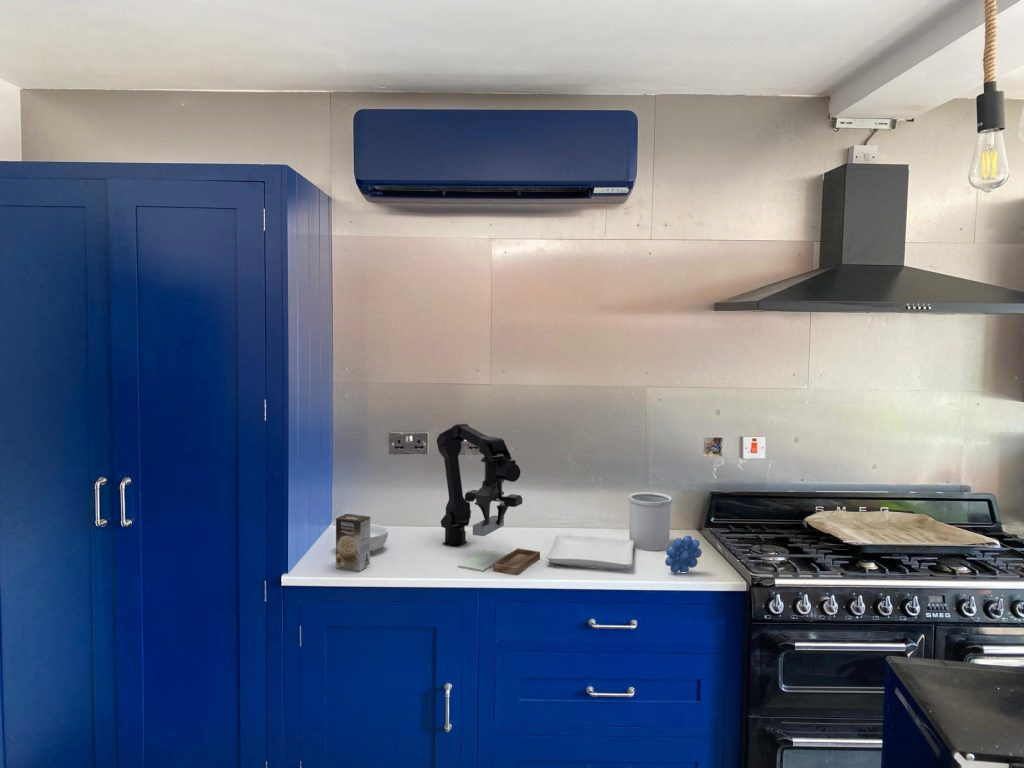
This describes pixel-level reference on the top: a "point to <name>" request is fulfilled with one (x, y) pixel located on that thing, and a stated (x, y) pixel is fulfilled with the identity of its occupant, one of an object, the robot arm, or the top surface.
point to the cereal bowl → (377, 536)
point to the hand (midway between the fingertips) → (493, 524)
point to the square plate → (591, 552)
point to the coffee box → (352, 542)
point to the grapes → (683, 554)
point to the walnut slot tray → (516, 561)
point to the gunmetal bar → (487, 526)
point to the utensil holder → (649, 520)
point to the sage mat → (482, 560)
